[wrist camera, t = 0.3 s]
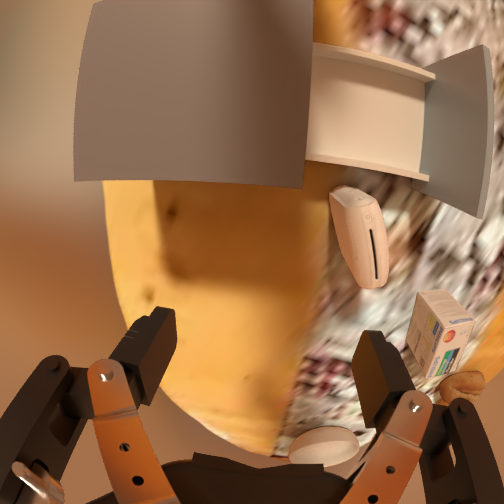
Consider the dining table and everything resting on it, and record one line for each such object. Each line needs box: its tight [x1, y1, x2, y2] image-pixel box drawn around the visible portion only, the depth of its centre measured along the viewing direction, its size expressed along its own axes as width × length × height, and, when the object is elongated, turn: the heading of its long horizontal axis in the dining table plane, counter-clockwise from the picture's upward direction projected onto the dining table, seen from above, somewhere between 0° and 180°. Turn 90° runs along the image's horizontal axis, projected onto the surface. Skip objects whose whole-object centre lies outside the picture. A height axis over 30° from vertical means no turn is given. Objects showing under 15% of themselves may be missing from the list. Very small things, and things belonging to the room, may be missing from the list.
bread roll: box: [439, 371, 485, 404], centre depth 44 cm, size 10×15×8 cm, turn 82°
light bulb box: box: [406, 289, 475, 379], centre depth 36 cm, size 11×7×11 cm, turn 5°
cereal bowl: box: [289, 426, 359, 467], centre depth 53 cm, size 17×17×7 cm
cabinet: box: [74, 0, 314, 189], centre depth 24 cm, size 18×20×17 cm
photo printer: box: [329, 185, 389, 289], centre depth 31 cm, size 10×4×12 cm, turn 17°
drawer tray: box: [305, 42, 494, 219], centre depth 23 cm, size 18×20×16 cm
